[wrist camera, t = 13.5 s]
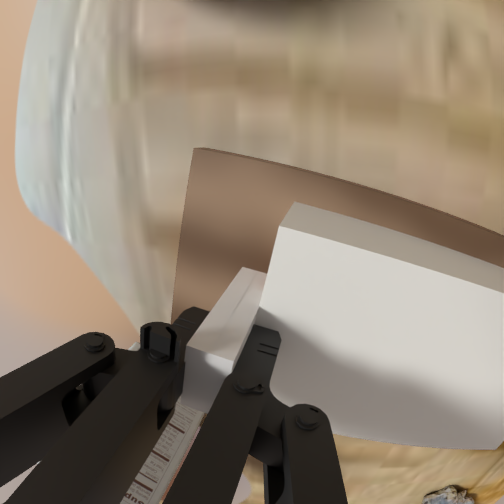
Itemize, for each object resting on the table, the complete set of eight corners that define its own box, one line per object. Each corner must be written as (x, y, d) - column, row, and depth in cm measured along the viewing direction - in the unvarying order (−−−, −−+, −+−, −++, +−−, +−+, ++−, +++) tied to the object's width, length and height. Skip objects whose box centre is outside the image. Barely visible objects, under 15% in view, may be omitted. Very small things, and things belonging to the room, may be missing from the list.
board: (204, 147, 17) (166, 149, 13) (558, 260, 14) (595, 287, 9) (179, 328, 21) (147, 365, 17) (483, 401, 18) (499, 441, 14)
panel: (294, 201, 15) (279, 225, 11) (540, 282, 13) (583, 321, 8) (255, 349, 19) (232, 407, 14) (476, 397, 16) (495, 449, 12)
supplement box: (185, 431, 25) (124, 541, 14) (117, 387, 26) (37, 482, 14) (219, 390, 22) (148, 531, 11) (136, 337, 23) (29, 450, 11)
